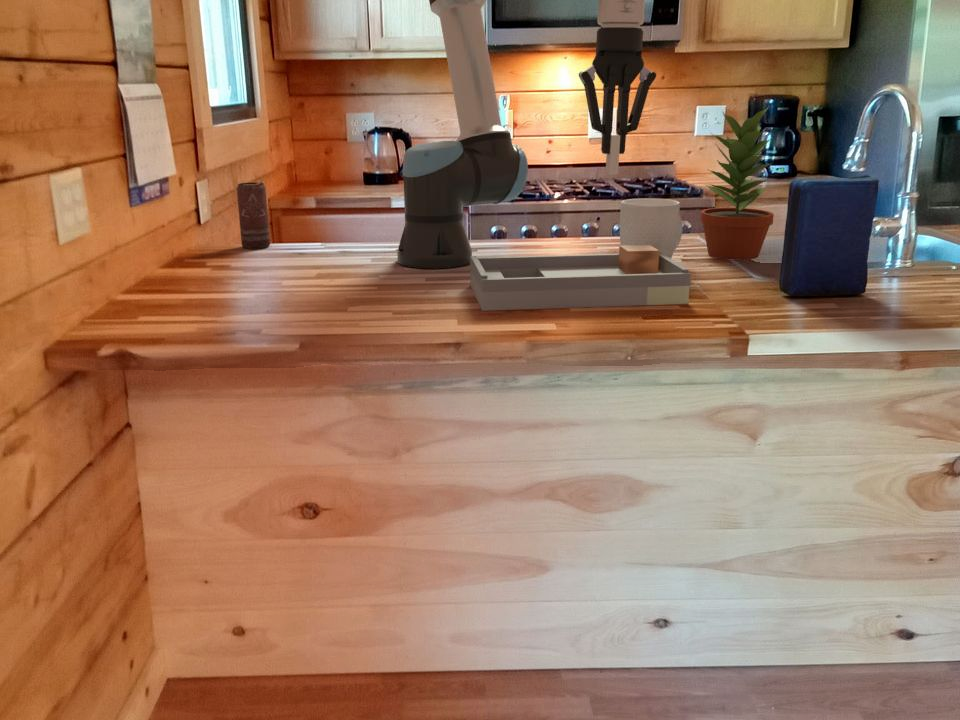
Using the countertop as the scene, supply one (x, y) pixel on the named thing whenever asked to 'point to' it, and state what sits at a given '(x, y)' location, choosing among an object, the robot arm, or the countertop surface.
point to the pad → (668, 295)
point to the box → (565, 281)
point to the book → (828, 236)
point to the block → (638, 259)
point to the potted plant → (738, 197)
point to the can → (253, 215)
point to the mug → (651, 224)
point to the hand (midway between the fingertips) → (611, 173)
